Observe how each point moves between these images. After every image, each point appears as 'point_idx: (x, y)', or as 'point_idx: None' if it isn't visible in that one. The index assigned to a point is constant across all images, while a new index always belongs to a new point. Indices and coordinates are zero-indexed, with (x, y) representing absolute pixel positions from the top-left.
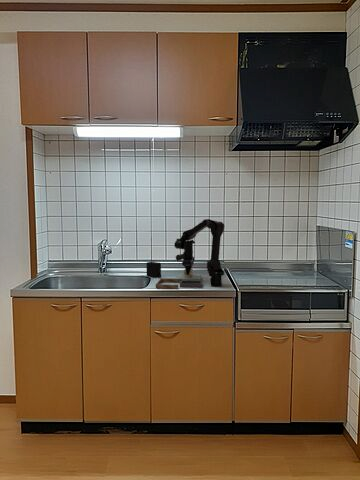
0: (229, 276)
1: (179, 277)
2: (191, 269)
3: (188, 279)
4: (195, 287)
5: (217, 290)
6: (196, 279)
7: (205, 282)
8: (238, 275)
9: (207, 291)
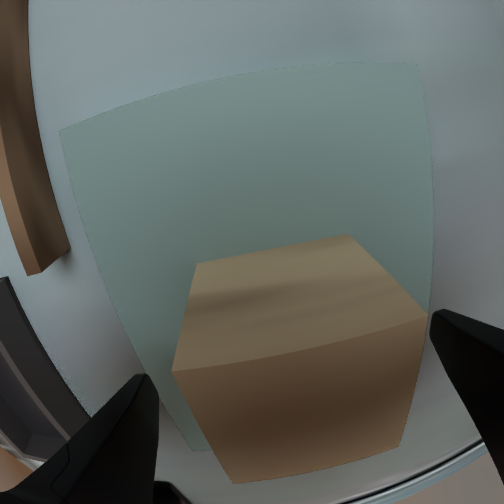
0: (438, 466)
1: (190, 158)
2: (341, 456)
3: (137, 346)
4: (8, 406)
5: None
6: (179, 425)
7: (210, 453)
8: (451, 474)
9: (6, 450)
